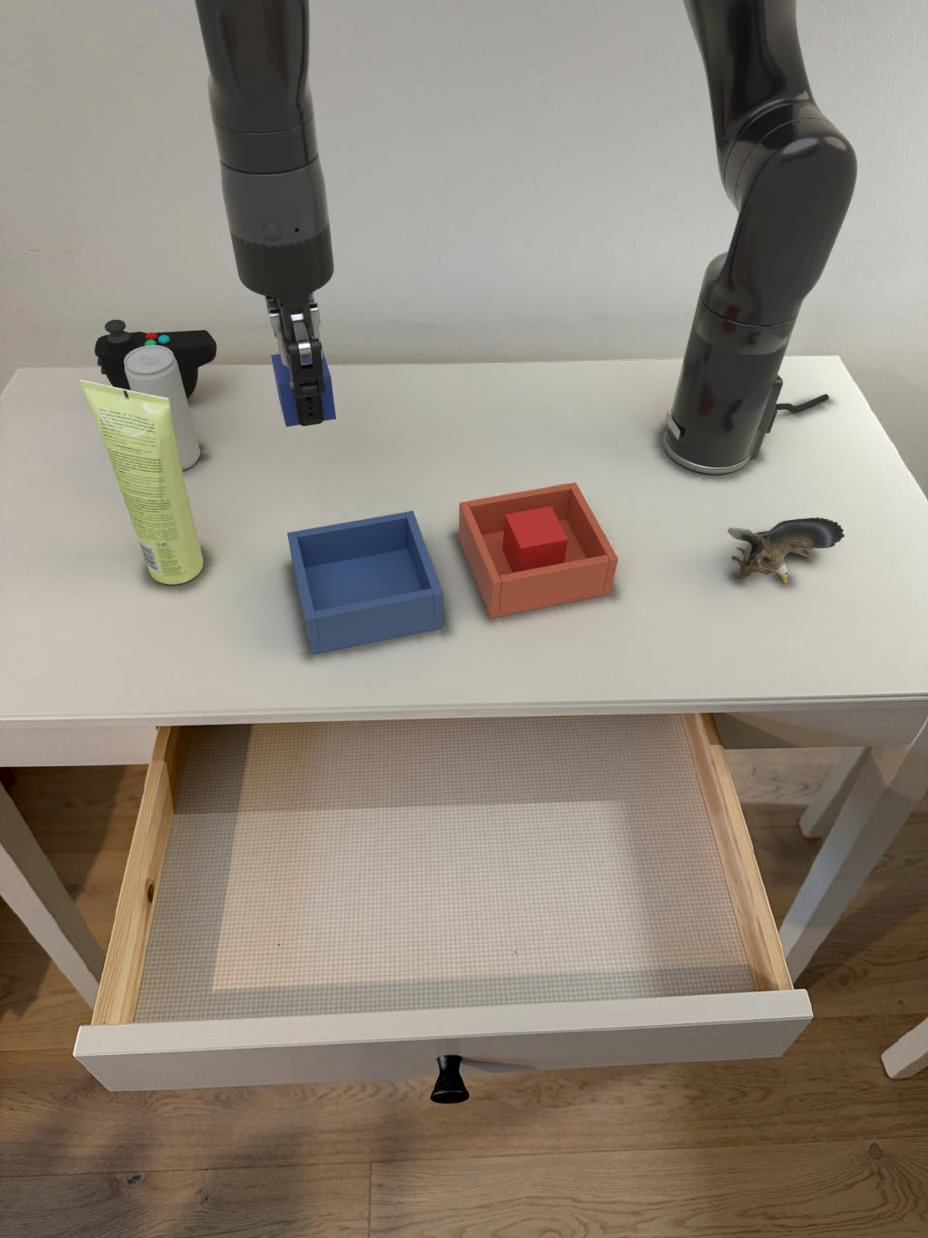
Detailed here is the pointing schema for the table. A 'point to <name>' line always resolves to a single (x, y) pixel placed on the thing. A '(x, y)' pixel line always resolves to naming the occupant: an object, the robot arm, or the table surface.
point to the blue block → (288, 397)
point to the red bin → (544, 586)
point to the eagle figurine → (784, 543)
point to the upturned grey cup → (164, 393)
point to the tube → (149, 477)
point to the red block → (533, 539)
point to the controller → (184, 345)
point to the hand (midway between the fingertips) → (306, 404)
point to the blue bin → (365, 581)
